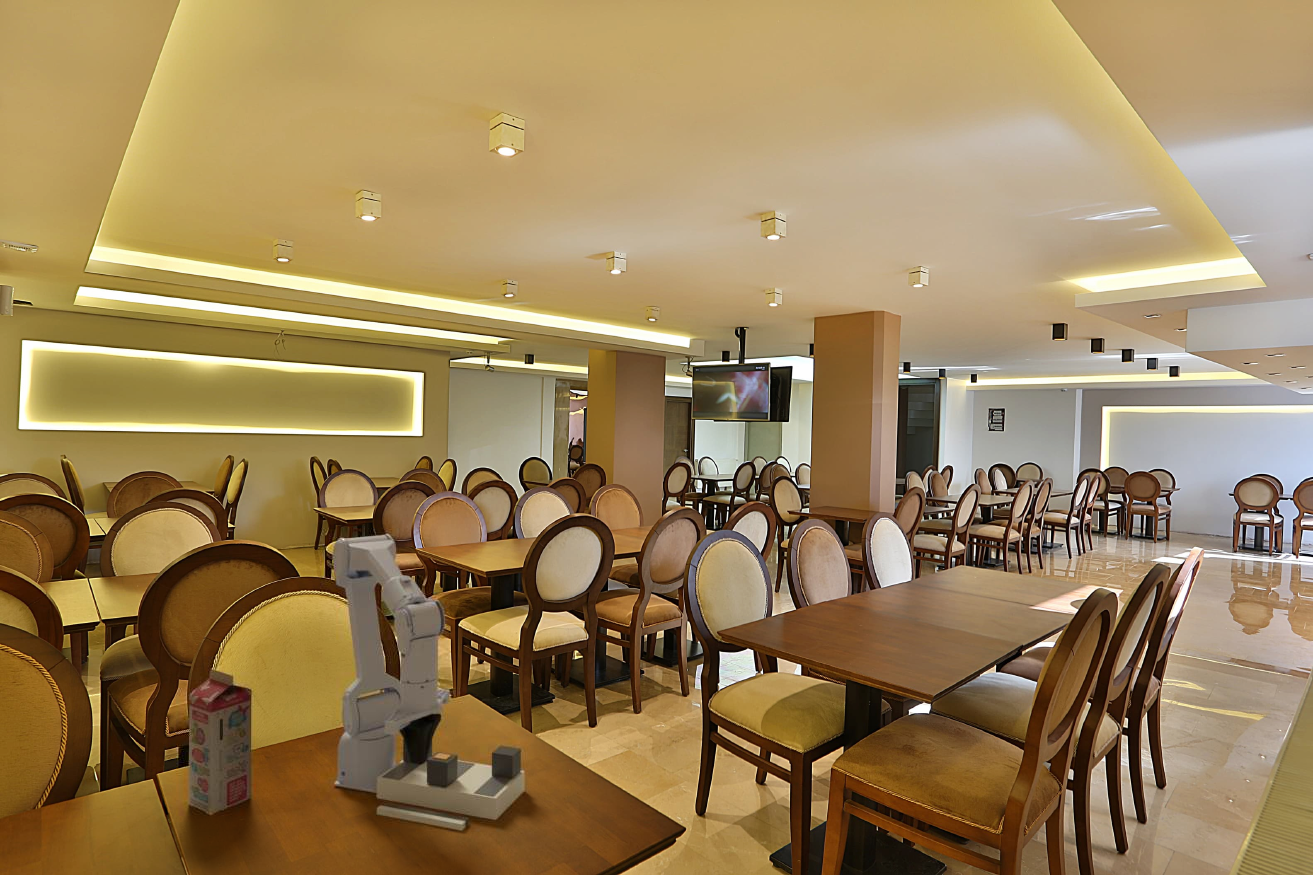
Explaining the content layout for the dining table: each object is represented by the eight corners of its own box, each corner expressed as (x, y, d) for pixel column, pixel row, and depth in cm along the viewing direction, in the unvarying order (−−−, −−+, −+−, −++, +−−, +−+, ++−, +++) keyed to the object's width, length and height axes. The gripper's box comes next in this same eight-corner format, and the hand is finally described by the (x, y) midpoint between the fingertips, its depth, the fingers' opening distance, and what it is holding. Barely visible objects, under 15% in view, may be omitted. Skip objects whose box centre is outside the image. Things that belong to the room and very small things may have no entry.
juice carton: (228, 787, 126) (229, 663, 126) (250, 797, 122) (251, 669, 122) (188, 804, 120) (189, 674, 120) (210, 815, 117) (211, 681, 116)
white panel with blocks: (376, 797, 123) (377, 753, 123) (412, 771, 132) (412, 730, 132) (495, 819, 116) (496, 773, 116) (524, 790, 125) (524, 747, 125)
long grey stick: (376, 814, 117) (376, 807, 117) (384, 808, 119) (384, 802, 119) (462, 830, 113) (462, 824, 113) (468, 824, 115) (468, 817, 115)
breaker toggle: (426, 782, 120) (426, 758, 120) (437, 774, 123) (437, 750, 123) (447, 786, 119) (447, 761, 119) (457, 778, 122) (457, 753, 122)
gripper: (412, 696, 107) (412, 786, 107) (465, 666, 121) (465, 746, 121) (373, 690, 109) (372, 779, 109) (429, 662, 123) (429, 741, 123)
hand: (418, 761), depth 115 cm, fingers closed
